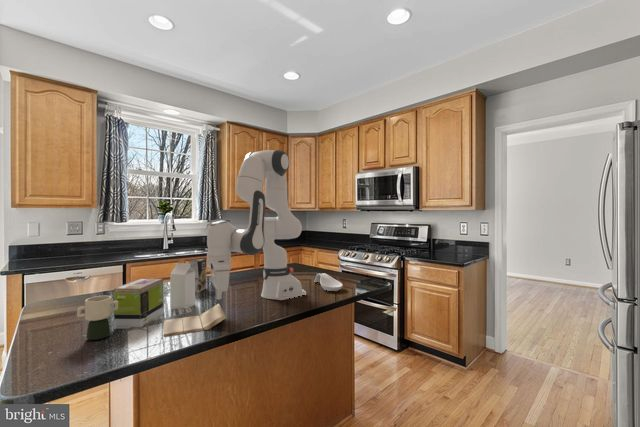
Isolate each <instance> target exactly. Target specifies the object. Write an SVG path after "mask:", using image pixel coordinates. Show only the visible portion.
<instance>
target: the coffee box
mask: <svg viewBox="0 0 640 427" xmlns="http://www.w3.org/2000/svg"><path fill="white" fill-rule="evenodd" d="M187 264H190V266H191V267H192V269H193V270H194V271H195V294H197V293H201V292H203V291H205V289H207V258H194V259H191V260H188V262H187Z"/></svg>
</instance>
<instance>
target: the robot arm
mask: <svg viewBox="0 0 640 427" xmlns="http://www.w3.org/2000/svg"><path fill="white" fill-rule="evenodd" d="M289 158H290V157H289V156H288V154H287V152H285V150H281V149H276V150H275V149H273V150H271V149H264V150H260V151H259V150H258V151H250V152H248V153H247V154H246V155H245V156H244V159H243V161H242V163H241V165H240V168H239V171H238V174H237V179H236V183H235V193H236V195H237V196H238V197H239V199H241V200H243V201H244V202H246V203H247V204H248V205H249V221H248V227H247V228H246V229H245V228H239V227H236V226H234V225H233V224H232V223H231V222H230V221H229V220H225V219H224V220H217V221H212V222H211V223H210V224H209V225H208V227H207V234H206V246H207V253H206V269H209V271H210V283H212V285H213V288H214V290H215V292H214V293H215V298H216V300H222V298H223V293H224V292H227V291H228V289H229V284H230V283H229V282H230V270H232V253H240V254H245V255H250V256H255V255H257V254H259V253H260V252H261V251H262V250H263V251H262V252H263V260H264V261H263V262H264V265H263V266H264V267H263V273H262V276H263V285H262V291H261V294H260V296H261V298H263V299H267V300H268V299H269V300H277V301H284V300H290V299H294V297H295V298H299V297H298V296H300V297H303V296H302V295H305V296H307V292H306V290H304V288H302V283H301V281H300V280H299V279H297V277H295V276H293V275H292V274H291V273H293V272H294V271H295V270H294V268H293V267H289V266H288V264H287V263H288V257H287V256H288V254H287V253H288V252H287V250H286V249H285V248H284V247H282V246H280V245H277V244H276V243H275V240H292V239H296V238H298V237H300V235H301V233H302V230H303V225H302V223H301V221H300V219H298V218H297V217H296V216H295V215H294V214H293V213H292V211H291V209H290V207H289V204H288V203H289V202H288V181H287V171H288V169H289V167H290V159H289ZM263 185H264V193H263ZM266 208H268V209H270V211H273V212H276V214H277V216H273V217H271V216H267V217H266ZM289 298H290V299H289Z"/></svg>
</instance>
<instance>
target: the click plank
mask: <svg viewBox="0 0 640 427" xmlns="http://www.w3.org/2000/svg"><path fill="white" fill-rule="evenodd" d="M199 318H200V321H201V325H202V330H204V331H205V330H211V329H212V328H213V327H214V326H216V325H218V324H219V323H221V322H223V320H225V319H227V315H226V314H225V312H224V310H223V308H222V307H221V305H220V303H217V304H215V305H214V306H212V307H211V308H209V309H207V310H205V311H204V312H203V313H201V314H199Z"/></svg>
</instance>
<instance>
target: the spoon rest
mask: <svg viewBox="0 0 640 427" xmlns="http://www.w3.org/2000/svg"><path fill="white" fill-rule="evenodd" d="M314 282H320V283H319V284H320V286H321V288H322V289H323V290H325V291H326V290H327V291H326V292H328V291H335V292H338V291H339V290H341V289H342V288H343V283H342V282H341V281H339V280H337V279H335V278H334V277H332V276H331V275H329V274H327V273H325V272H324V273H323V272H322V273H317V274H316V275H315V278H314V281H313V283H314Z"/></svg>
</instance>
